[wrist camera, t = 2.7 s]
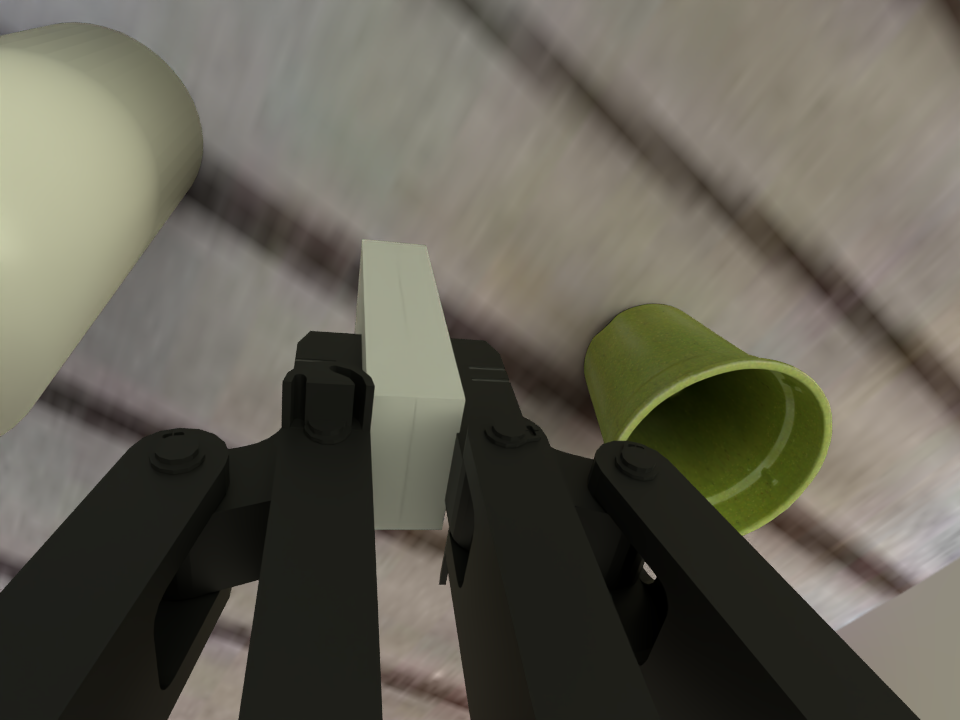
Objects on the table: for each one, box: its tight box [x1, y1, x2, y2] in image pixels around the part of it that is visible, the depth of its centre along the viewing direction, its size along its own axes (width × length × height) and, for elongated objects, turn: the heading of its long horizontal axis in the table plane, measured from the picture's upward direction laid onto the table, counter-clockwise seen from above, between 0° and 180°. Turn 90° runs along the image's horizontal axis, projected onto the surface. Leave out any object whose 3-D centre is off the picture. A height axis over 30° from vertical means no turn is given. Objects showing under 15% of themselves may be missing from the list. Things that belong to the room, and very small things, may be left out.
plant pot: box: [584, 304, 832, 536], centre depth 30 cm, size 9×9×9 cm
